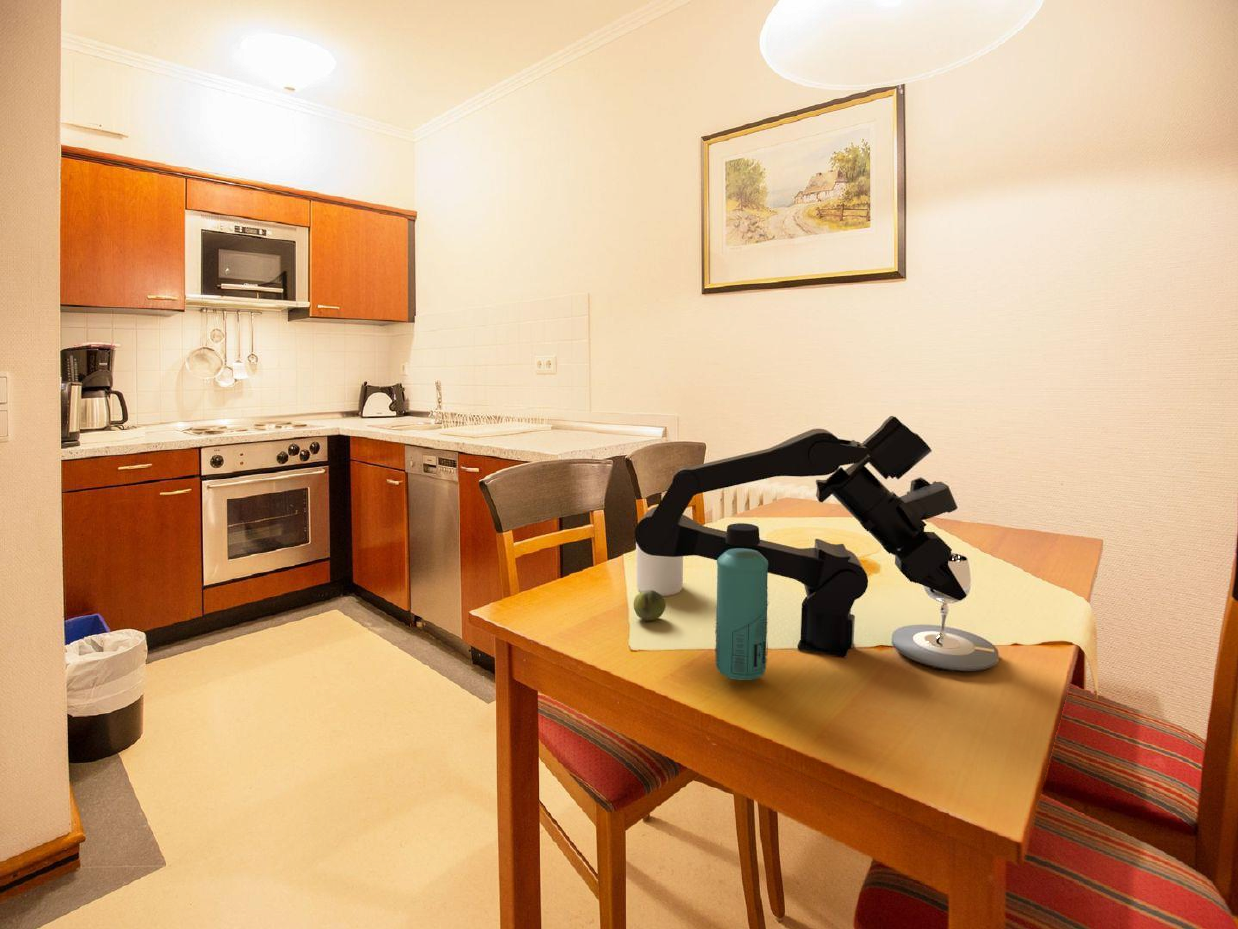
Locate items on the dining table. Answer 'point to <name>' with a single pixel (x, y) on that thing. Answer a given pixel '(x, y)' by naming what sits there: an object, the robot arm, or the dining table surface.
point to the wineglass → (950, 600)
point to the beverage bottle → (741, 606)
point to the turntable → (965, 657)
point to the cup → (658, 573)
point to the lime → (649, 605)
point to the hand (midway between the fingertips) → (952, 586)
